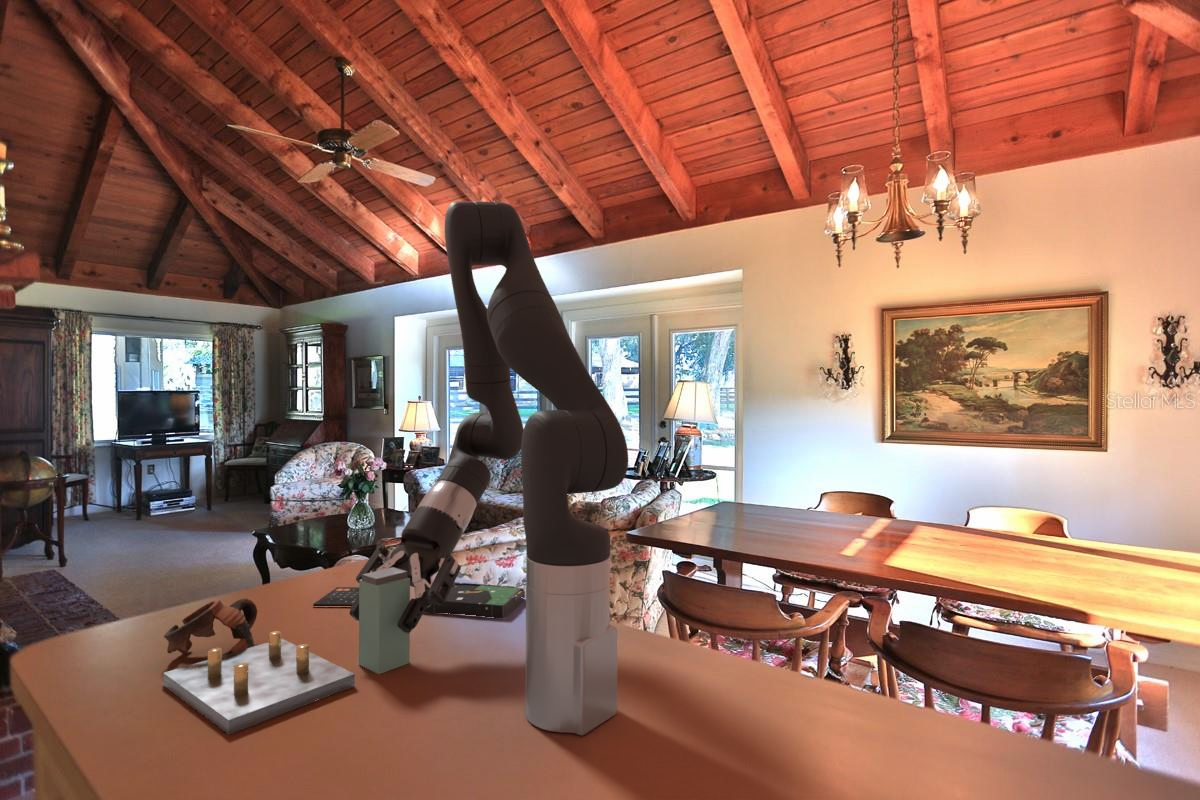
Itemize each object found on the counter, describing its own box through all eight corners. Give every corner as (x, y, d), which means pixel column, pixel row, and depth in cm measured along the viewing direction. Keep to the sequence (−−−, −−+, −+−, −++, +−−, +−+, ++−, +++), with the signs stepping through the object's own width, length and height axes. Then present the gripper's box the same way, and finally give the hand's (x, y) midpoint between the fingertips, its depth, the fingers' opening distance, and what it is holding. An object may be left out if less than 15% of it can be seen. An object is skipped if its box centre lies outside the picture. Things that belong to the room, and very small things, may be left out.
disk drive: (417, 616, 102) (504, 622, 99) (417, 599, 102) (504, 604, 99) (445, 597, 112) (525, 601, 109) (445, 581, 112) (525, 585, 109)
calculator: (337, 591, 114) (337, 575, 114) (401, 592, 114) (401, 575, 114) (313, 609, 104) (313, 591, 104) (383, 609, 104) (383, 591, 104)
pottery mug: (231, 676, 79) (192, 623, 78) (176, 701, 82) (138, 650, 80) (288, 620, 91) (255, 573, 90) (239, 643, 93) (206, 597, 92)
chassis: (354, 686, 76) (354, 648, 76) (228, 734, 64) (228, 690, 64) (281, 649, 87) (281, 616, 87) (163, 685, 75) (163, 647, 76)
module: (409, 662, 83) (410, 572, 83) (378, 674, 79) (379, 579, 79) (389, 654, 85) (390, 566, 85) (358, 665, 82) (359, 573, 82)
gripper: (390, 500, 92) (323, 600, 82) (467, 508, 86) (404, 618, 76) (416, 530, 97) (355, 628, 87) (491, 540, 90) (434, 648, 80)
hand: (378, 623), depth 81 cm, fingers open, 8 cm apart
